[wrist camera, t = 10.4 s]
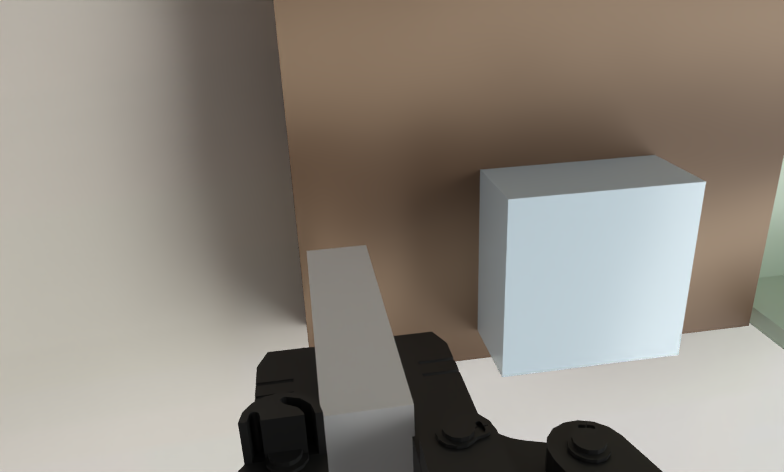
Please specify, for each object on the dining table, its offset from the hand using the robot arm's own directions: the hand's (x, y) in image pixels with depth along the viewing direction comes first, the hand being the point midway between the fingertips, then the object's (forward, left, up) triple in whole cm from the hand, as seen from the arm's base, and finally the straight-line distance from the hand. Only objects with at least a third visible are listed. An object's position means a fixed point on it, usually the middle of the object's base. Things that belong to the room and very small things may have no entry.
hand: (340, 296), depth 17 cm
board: (-3, +6, -4) cm, 8 cm away
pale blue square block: (0, +7, -1) cm, 7 cm away
